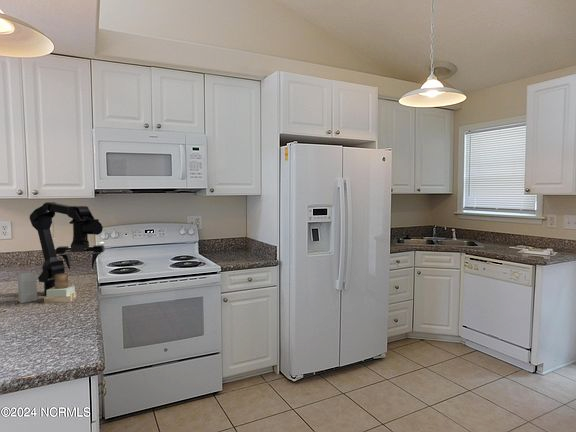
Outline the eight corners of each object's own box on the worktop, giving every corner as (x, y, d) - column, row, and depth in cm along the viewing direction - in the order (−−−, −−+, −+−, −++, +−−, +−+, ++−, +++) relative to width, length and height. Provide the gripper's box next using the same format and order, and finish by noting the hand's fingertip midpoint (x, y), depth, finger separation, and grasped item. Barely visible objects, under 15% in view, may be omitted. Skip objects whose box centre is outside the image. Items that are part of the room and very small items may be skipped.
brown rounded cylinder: (56, 286, 169) (55, 273, 168) (69, 286, 170) (68, 272, 170) (53, 289, 164) (53, 275, 164) (66, 288, 166) (66, 274, 165)
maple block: (51, 299, 171) (51, 292, 171) (76, 297, 174) (76, 291, 174) (44, 305, 161) (44, 298, 161) (70, 303, 164) (70, 296, 164)
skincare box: (34, 298, 169) (33, 272, 168) (37, 300, 166) (36, 273, 166) (17, 301, 164) (17, 274, 164) (21, 303, 161) (20, 275, 161)
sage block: (55, 292, 171) (55, 286, 170) (74, 292, 171) (74, 285, 171) (46, 297, 163) (46, 290, 162) (66, 296, 164) (66, 289, 163)
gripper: (51, 236, 160) (52, 273, 161) (100, 234, 166) (101, 270, 166) (58, 234, 171) (59, 268, 171) (104, 232, 176) (105, 266, 177)
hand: (81, 268), depth 171 cm, fingers open, 9 cm apart
